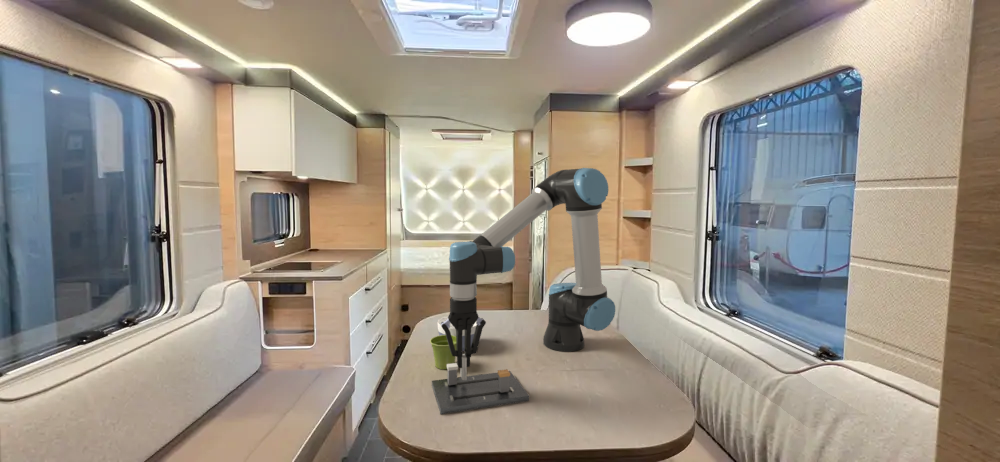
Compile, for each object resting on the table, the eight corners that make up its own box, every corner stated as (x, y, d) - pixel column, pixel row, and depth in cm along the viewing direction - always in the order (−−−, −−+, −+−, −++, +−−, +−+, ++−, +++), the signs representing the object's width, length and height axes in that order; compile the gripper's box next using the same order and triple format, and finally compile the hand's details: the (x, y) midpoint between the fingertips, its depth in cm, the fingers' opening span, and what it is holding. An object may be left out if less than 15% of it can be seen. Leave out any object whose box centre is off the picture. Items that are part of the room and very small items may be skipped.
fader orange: (506, 387, 112) (507, 369, 112) (509, 391, 110) (510, 372, 109) (497, 388, 111) (497, 370, 111) (500, 393, 109) (500, 374, 108)
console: (509, 375, 124) (509, 369, 124) (529, 400, 109) (529, 394, 109) (431, 385, 117) (431, 379, 116) (440, 414, 101) (440, 407, 101)
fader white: (456, 380, 116) (456, 362, 115) (458, 384, 114) (458, 366, 113) (446, 381, 115) (446, 364, 115) (448, 385, 113) (448, 367, 112)
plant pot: (454, 373, 125) (454, 346, 124) (425, 370, 127) (425, 343, 126) (462, 361, 134) (463, 336, 133) (436, 358, 136) (436, 333, 135)
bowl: (489, 344, 149) (490, 319, 149) (463, 359, 136) (463, 331, 135) (456, 336, 158) (456, 312, 157) (428, 348, 145) (428, 322, 144)
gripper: (481, 292, 118) (481, 369, 121) (438, 295, 115) (439, 375, 117) (488, 298, 111) (488, 380, 113) (442, 302, 107) (443, 387, 110)
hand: (463, 377), depth 115 cm, fingers closed
